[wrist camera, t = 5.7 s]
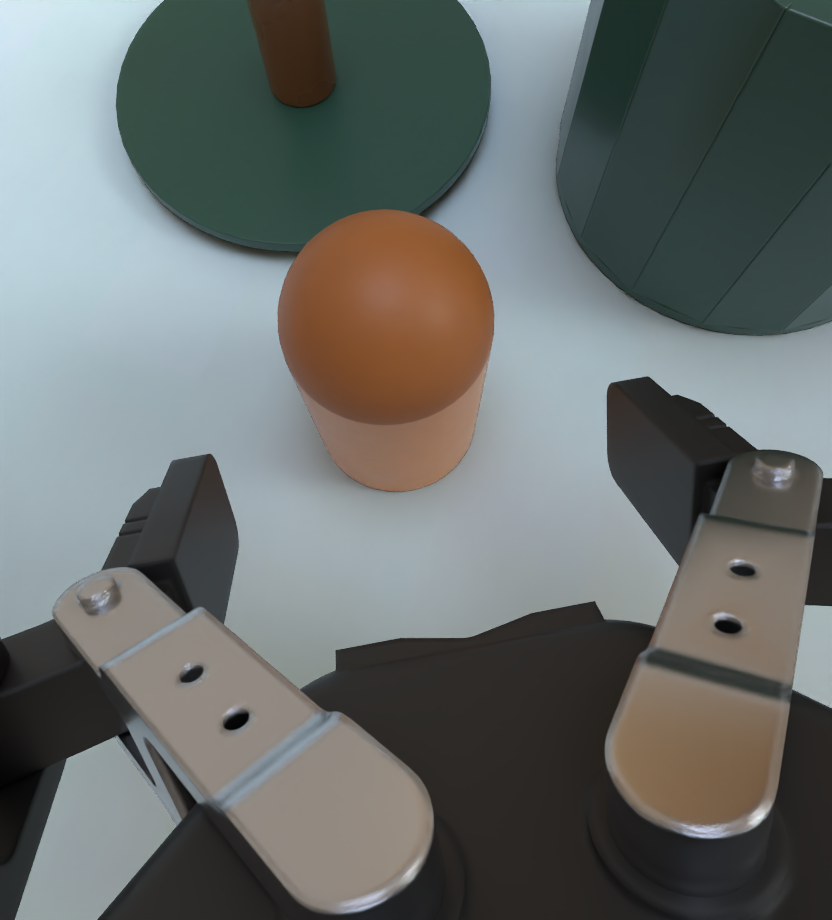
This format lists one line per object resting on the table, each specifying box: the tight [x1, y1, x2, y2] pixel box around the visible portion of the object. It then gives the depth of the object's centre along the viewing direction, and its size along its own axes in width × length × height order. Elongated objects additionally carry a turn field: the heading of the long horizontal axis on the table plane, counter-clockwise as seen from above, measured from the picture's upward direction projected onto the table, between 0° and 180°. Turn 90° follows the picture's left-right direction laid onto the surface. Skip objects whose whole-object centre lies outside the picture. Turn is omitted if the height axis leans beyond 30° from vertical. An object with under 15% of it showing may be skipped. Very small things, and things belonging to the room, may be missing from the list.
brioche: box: [278, 209, 494, 492], centre depth 19 cm, size 5×5×10 cm
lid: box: [116, 0, 491, 252], centre depth 25 cm, size 15×15×6 cm
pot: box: [556, 0, 832, 335], centre depth 21 cm, size 14×14×12 cm
